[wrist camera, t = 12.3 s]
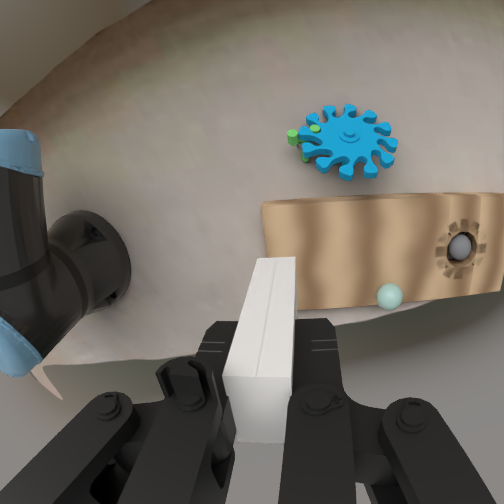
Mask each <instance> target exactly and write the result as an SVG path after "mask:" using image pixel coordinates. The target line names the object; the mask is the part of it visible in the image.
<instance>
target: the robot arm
mask: <svg viewBox="0 0 504 504" xmlns="http://www.w3.org/2000/svg"><path fill="white" fill-rule="evenodd" d="M42 177H44V172H43V171H42V165H41V149H40V142H39V139H38V137H37V136H36V135H35V134H34V133H33V132H31V131H28V130H18V129H0V371H1V372H3V373H5V374H6V375H9V376H12V377H22V376H24V375H26V374H27V373H28V372H29V371H30V370H31V369H33V368H34V367H35V366H36V365H37V364H40V363H41V362H42V360H43V359H44V358H45V357H46V356H47V355H48V354H49V352H50V351H51V350H52V349H53V348H54V347H55V346H56V345H57V344H58V343H59V342H60V340H61V339H62V338H63V337H64V336H65V335H66V334H67V333H68V332H69V331H70V330H71V329H72V328H73V327H74V326H75V325H76V324H77V322H78V321H79V320H80V319H81V318H83V317H84V316H86V315H88V314H91V313H94V312H97V311H99V310H102V309H105V308H107V307H109V306H111V305H113V304H114V303H115V302H116V301H117V300H118V299H119V298H120V297H121V296H122V295H123V294H124V293H125V291H126V289H127V287H128V285H129V281H130V275H131V268H130V260H129V256H128V253H127V250H126V247H125V245H124V243H123V241H122V239H121V237H120V236H119V234H118V233H117V232H116V230H115V229H114V228H113V227H112V226H111V225H110V224H109V223H108V222H107V221H106V220H105V219H103V218H102V217H100V216H99V215H97V214H95V213H92V212H89V211H83V210H80V211H74V212H71V213H69V214H67V215H65V216H63V217H61V218H59V219H58V220H57V221H56V222H55V223H54V224H53V225H52V226H51V228H50V229H49V230H48V231H47V227H46V218H45V208H44V196H43V180H42ZM156 376H157V378H158V381H159V384H160V386H161V389H162V391H163V394H164V396H165V399H164V400H162V401H158V402H152V403H141V404H132V401H131V399H130V398H129V397H128V396H127V395H125V394H124V393H120V392H106V393H103V394H101V395H98V396H97V397H95V398H94V399H93V400H92V401H90V402H89V403H88V404H87V405H86V406H85V407H84V408H83V409H82V410H81V411H80V412H79V413H78V414H77V415H76V416H75V417H74V418H73V419H72V420H71V421H70V422H69V423H68V424H67V425H66V426H65V427H64V428H63V429H62V430H61V431H60V432H59V433H58V434H57V435H56V436H55V437H54V438H53V439H52V440H51V441H50V442H49V443H48V444H47V445H46V446H45V447H44V448H43V449H42V450H41V451H40V452H39V453H38V454H37V455H36V456H35V457H34V458H33V459H32V460H31V461H30V462H29V463H28V464H27V465H26V466H25V467H24V468H23V469H22V470H21V471H20V472H19V473H18V474H17V475H16V476H15V477H14V478H13V479H12V480H11V481H10V482H9V483H8V484H7V485H6V486H5V487H4V488H3V489H2V490H1V491H0V504H225V501H226V497H227V493H228V488H229V484H230V479H231V475H232V470H233V465H234V461H235V452H234V448H233V444H234V439H235V434H236V435H237V439H238V442H247V443H268V444H284V453H283V464H282V473H281V482H280V491H279V500H278V504H356V486H355V482H358V483H364V486H365V488H366V491H367V494H368V496H369V499H370V501H371V504H496V502H495V500H494V499H493V497H492V495H491V494H490V492H489V490H488V488H487V487H486V485H485V483H484V482H483V481H482V479H481V477H480V475H479V474H478V472H477V470H476V469H475V467H474V466H473V464H472V463H471V461H470V459H469V458H468V456H467V455H466V453H465V451H464V450H463V448H462V447H461V446H460V444H459V442H458V441H457V439H456V437H455V436H454V435H453V433H452V432H451V430H450V429H449V427H448V425H447V424H446V423H445V421H444V420H443V418H442V417H441V415H440V414H439V412H438V411H437V409H436V408H435V407H434V406H432V404H430V403H429V402H427V401H424V400H422V399H419V398H411V397H409V398H404V399H399V400H397V401H395V402H393V403H391V404H390V405H389V406H388V407H387V409H379V408H373V407H368V406H364V405H361V404H358V403H357V402H355V401H353V400H352V399H351V398H350V397H348V395H347V394H346V393H345V391H344V388H343V385H342V377H341V370H340V362H339V354H338V347H337V341H336V333H335V327H334V326H333V325H332V324H331V322H330V321H329V320H328V319H327V318H317V319H298V303H297V278H296V258H295V257H276V258H258V259H257V262H256V265H255V269H254V272H253V275H252V279H251V282H250V285H249V289H248V292H247V295H246V299H245V302H244V305H243V308H242V312H241V315H240V318H239V321H216V322H215V323H214V324H213V325H212V326H211V327H210V328H209V329H207V330H206V333H205V335H204V337H203V340H202V343H201V344H200V347H199V349H198V352H197V353H196V356H195V357H191V356H189V357H179V358H176V359H173V360H170V361H168V362H167V363H165V364H163V365H162V366H161V367H160V368H159V369H158V370H157V371H156Z"/></svg>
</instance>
